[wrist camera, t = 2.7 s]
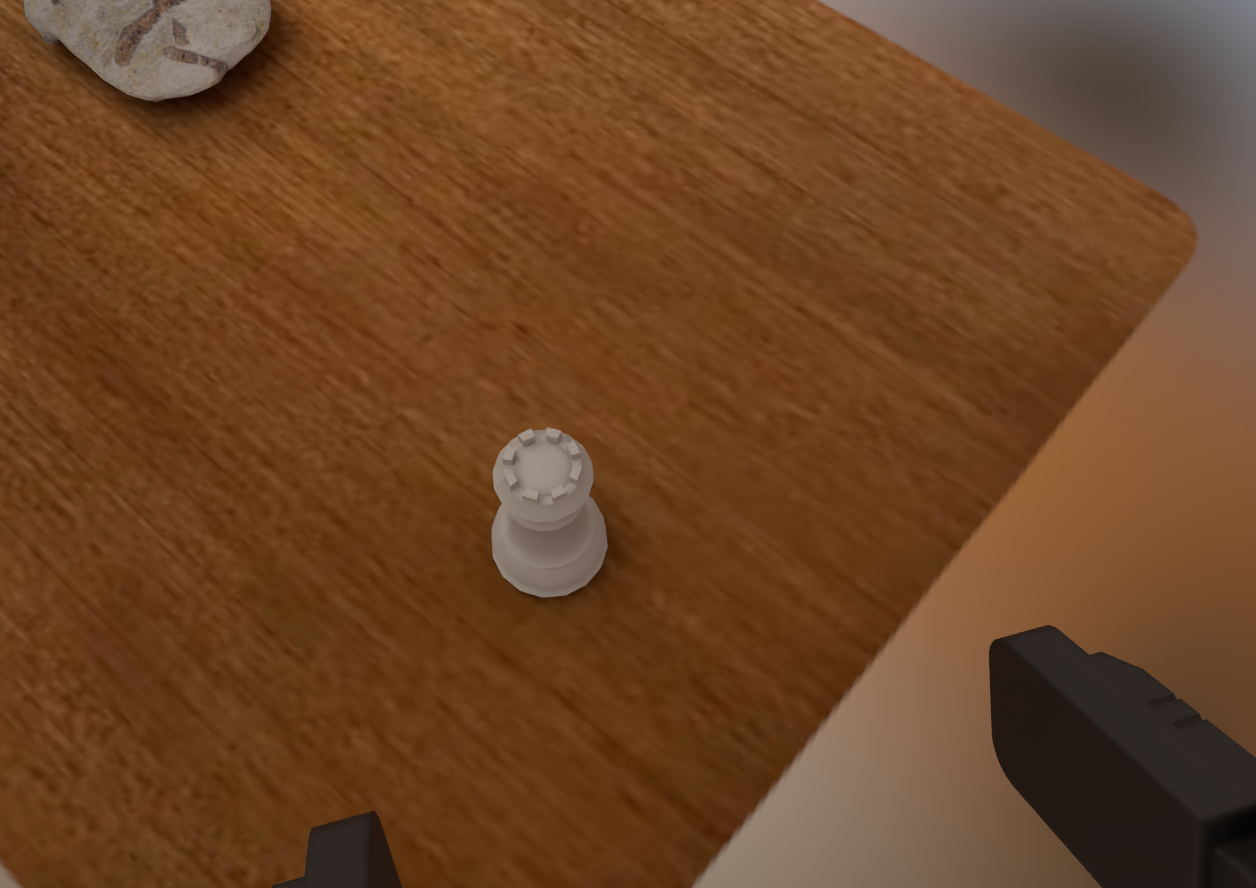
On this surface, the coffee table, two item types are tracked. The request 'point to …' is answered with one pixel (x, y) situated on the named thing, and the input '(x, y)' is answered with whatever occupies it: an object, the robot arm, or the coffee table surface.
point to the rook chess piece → (546, 515)
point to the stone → (154, 39)
